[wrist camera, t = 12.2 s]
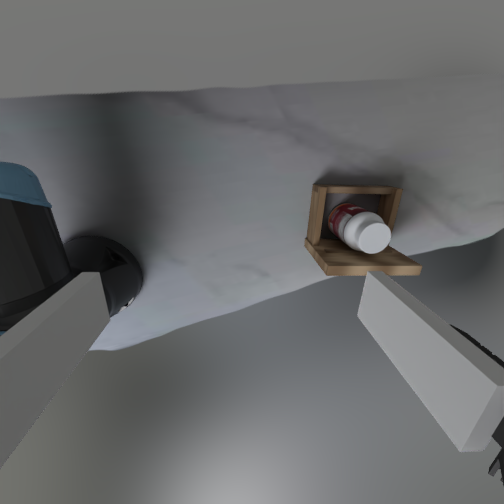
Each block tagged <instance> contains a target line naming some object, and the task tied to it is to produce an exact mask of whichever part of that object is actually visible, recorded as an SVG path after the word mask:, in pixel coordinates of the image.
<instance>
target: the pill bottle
mask: <svg viewBox="0 0 504 504" xmlns="http://www.w3.org/2000/svg"><path fill="white" fill-rule="evenodd" d="M328 226H329V229H330V230H331V232H332V233H333V234H334V235H336V236H337V237H338V238H339V239H341V240H342V241H343V242H344V243H345V244H347V245H348V246H349V247H350V248H352V249H354V250H357V251H364V252H366V253H369V254H374V253H378V252H380V251H382V250H383V249H384V248H385V247H386V246H387V245H388V244H389V242H390V239H391V231H390V229H389V227H388V226H387V225H386V224H384V221H383V220H382V218H381V217H380V216H378V215H377V214H375V213H373V212H370V211H368V210H365V209H363V208H361V207H358V206H356V205H354V204H350V203H345V204H341V205H339V206H337V207H335V208H334V209H333V210H332V212H331V213H330V215H329V218H328Z"/></svg>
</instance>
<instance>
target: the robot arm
mask: <svg viewBox="0 0 504 504" xmlns="http://www.w3.org/2000/svg"><path fill="white" fill-rule="evenodd" d="M51 208H52V205H51V204H50V203H49V202H48V201H47V199H46V196H45V194H44V192H43V189H42V187H41V184H40V182H39V180H38V178H37V176H36V175H35V174H34V173H33V172H32V171H31V170H30V169H28V168H26V167H24V166H22V165H19V164H15V163H8V162H0V468H1V467H2V466H3V464H4V463H5V462H6V460H7V459H8V458H9V456H10V455H11V454H12V452H13V451H14V450H15V448H16V447H17V446H18V444H19V443H20V442H21V440H22V439H23V437H24V436H25V435H26V433H27V432H28V431H29V429H30V428H31V427H32V425H33V424H34V423H35V421H36V420H37V419H38V417H39V416H40V414H41V413H42V412H43V410H44V409H45V408H46V406H47V405H48V404H49V402H50V401H51V400H52V398H53V397H54V396H55V394H56V393H57V392H58V390H59V389H60V388H61V386H62V385H63V384H64V382H65V381H66V379H67V378H68V377H69V375H70V374H71V373H72V371H73V370H74V369H75V367H76V366H77V364H78V363H79V362H80V361H81V359H82V358H83V357H84V355H85V354H86V352H87V351H88V350H89V348H90V347H91V346H92V344H93V343H94V342H95V340H96V339H97V338H98V336H99V335H100V334H101V332H102V331H103V330H104V328H105V327H106V325H107V324H108V323H109V321H110V317H112V316H114V315H115V314H117V313H118V312H120V311H122V310H124V309H125V308H127V307H128V306H129V305H130V304H131V303H132V302H133V301H134V299H135V298H136V296H137V295H138V293H139V292H140V289H141V286H142V272H141V269H140V266H139V264H138V262H137V260H136V259H135V257H134V256H133V255H132V254H131V253H130V252H129V251H128V250H127V249H126V248H125V247H123V246H122V245H120V244H119V243H117V242H115V241H113V240H110V239H107V238H104V237H99V236H84V237H79V238H76V239H73V240H71V241H69V242H68V243H66V244H64V245H63V244H62V241H61V238H60V235H59V232H58V229H57V226H56V223H55V220H54V217H53V214H52V211H51ZM357 316H358V318H359V319H360V320H361V322H362V323H363V324H364V326H365V327H366V328H367V329H368V331H369V332H370V333H371V335H372V336H373V337H374V339H375V340H376V341H377V343H378V344H379V345H380V347H381V348H382V349H383V351H384V352H385V353H386V354H387V356H388V357H389V358H390V360H391V361H392V362H393V364H394V365H395V366H396V368H397V369H398V370H399V372H400V373H401V374H402V376H403V377H404V378H405V380H406V381H407V382H408V384H409V385H410V386H411V388H412V389H413V390H414V392H415V393H416V394H417V396H418V397H419V398H420V399H421V401H422V402H423V403H424V405H425V406H426V407H427V409H428V410H429V411H430V413H431V414H432V415H433V417H434V418H435V419H436V421H437V422H438V423H439V425H440V426H441V427H442V428H443V430H444V431H445V433H446V434H447V435H448V436H449V438H450V439H451V440H452V442H453V443H454V444H455V446H456V447H457V448H458V450H459V451H460V452H467V451H484V449H485V448H486V446H487V445H488V443H489V441H490V440H491V438H492V437H493V438H494V440H495V441H496V442H497V443H498V444H499V445H500V446H501V447H502V449H501V451H500V452H499V454H498V455H497V457H496V458H495V460H494V461H493V463H492V464H491V466H490V467H489V472H488V474H490V475H492V476H494V475H495V473H496V471H497V470H498V469H501V474H502V478H501V481H502V482H503V485H504V362H503V361H502V360H501V359H499V358H498V357H497V356H496V355H492V352H490V351H489V350H488V349H487V348H485V347H484V346H481V345H480V343H479V342H477V341H476V340H475V339H474V338H472V337H471V336H470V335H468V334H467V333H465V332H464V331H462V330H460V329H458V328H456V327H454V326H452V325H449V324H448V323H446V322H445V321H444V320H443V319H441V318H440V317H439V316H438V315H436V314H435V313H434V312H433V311H431V310H430V309H429V308H428V307H426V306H425V305H424V304H422V303H421V302H420V301H419V300H418V299H416V298H415V297H414V296H412V295H411V294H410V293H409V292H407V291H406V290H405V289H404V288H402V287H401V286H400V285H399V284H397V283H396V282H395V281H394V280H392V279H391V278H390V277H389V276H387V275H386V274H385V273H384V272H382V271H367V276H366V280H365V284H364V289H363V293H362V297H361V302H360V306H359V310H358V315H357Z"/></svg>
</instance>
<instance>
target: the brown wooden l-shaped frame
mask: <svg viewBox="0 0 504 504" xmlns="http://www.w3.org/2000/svg"><path fill="white" fill-rule="evenodd" d="M402 191H403V189H400V188H396V187H391V186H368V185H323V184H313V189H312V197H311V206H310V214H309V223H308V231H307V238H305V245H304V246H305V247H306V249H307V250H308V251H309V253H310V254H311V255H312V257H313V258H314V259H315V261H316V262H317V263H318V265H319V266H320V267H321V269H322V270H323V271H324V273H325V274H326V275H327V276H343V275H367V271H382V272H384V273H385V274H386V275H420V272H421V269H422V265H420V264H418V263H417V262H415V261H413V260H412V259H410V258H408V257H407V256H405V255H403V254H402V253H400V252H398V251H397V250H395V249H393V248H392V247H390V246H389V244H388V245H387V246H386V247H385V248H384V249H383V250H382V251H380V252H378V253H374V254H369V253H366V252H364V251H357V250H354V249H352V248H350V247H349V246H348V245H347V244H345V243H344V242H343V241H342V240H341V239H320V233H321V226H322V219H323V212H324V205H325V198H326V193H350V194H381V197H380V201H379V206H378V210H377V215H378V216H380V217H381V218H382V220H383V221H384V224H386V225H387V226H388V227H389V229H390V231H391V234H392V230H393V227H394V223H395V219H396V215H397V211H398V207H399V203H400V199H401V195H402Z"/></svg>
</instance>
